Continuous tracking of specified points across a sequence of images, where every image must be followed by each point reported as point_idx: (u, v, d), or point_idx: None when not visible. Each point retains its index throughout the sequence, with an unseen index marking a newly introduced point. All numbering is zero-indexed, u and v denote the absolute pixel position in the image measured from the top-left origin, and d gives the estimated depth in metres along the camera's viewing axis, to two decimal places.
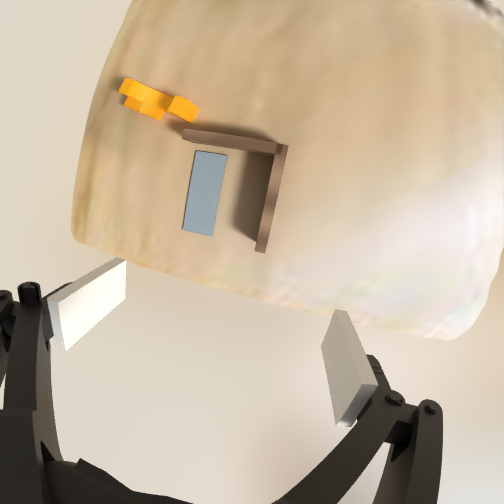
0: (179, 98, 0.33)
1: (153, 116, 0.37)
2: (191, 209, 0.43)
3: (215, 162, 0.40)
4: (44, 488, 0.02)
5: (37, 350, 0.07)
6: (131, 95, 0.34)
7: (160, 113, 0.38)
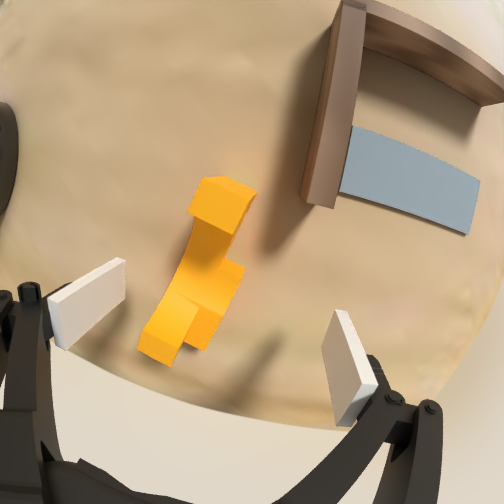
0: (198, 200, 0.13)
1: (237, 281, 0.19)
2: (443, 213, 0.18)
3: (366, 151, 0.17)
4: (44, 488, 0.02)
5: (37, 350, 0.07)
6: (181, 335, 0.17)
7: (229, 266, 0.20)
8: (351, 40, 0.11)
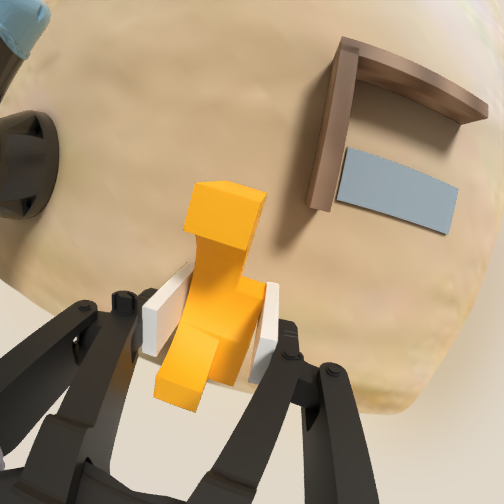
0: (194, 213, 0.10)
1: (259, 302, 0.16)
2: (424, 216, 0.23)
3: (358, 167, 0.23)
4: (44, 488, 0.02)
5: (117, 364, 0.08)
6: (202, 375, 0.14)
7: (248, 285, 0.17)
8: (345, 81, 0.17)
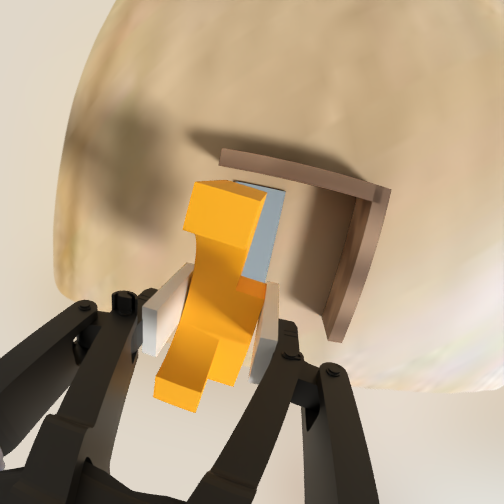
0: (194, 212, 0.10)
1: (259, 302, 0.15)
2: None
3: (266, 201, 0.27)
4: (44, 488, 0.02)
5: (117, 364, 0.08)
6: (202, 376, 0.14)
7: (248, 285, 0.17)
8: (342, 184, 0.21)
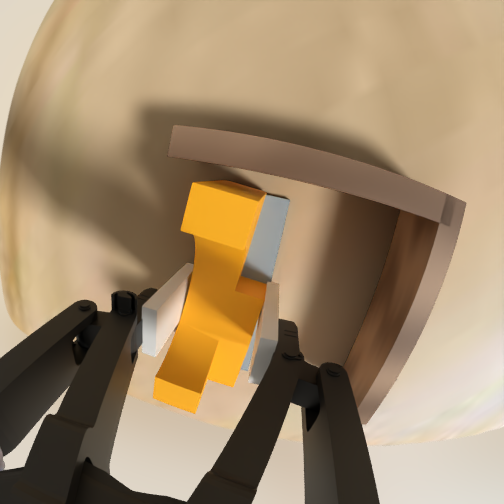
0: (191, 213, 0.10)
1: (259, 302, 0.15)
2: None
3: (259, 216, 0.16)
4: (44, 488, 0.02)
5: (117, 364, 0.08)
6: (202, 376, 0.14)
7: (247, 285, 0.16)
8: (395, 190, 0.11)
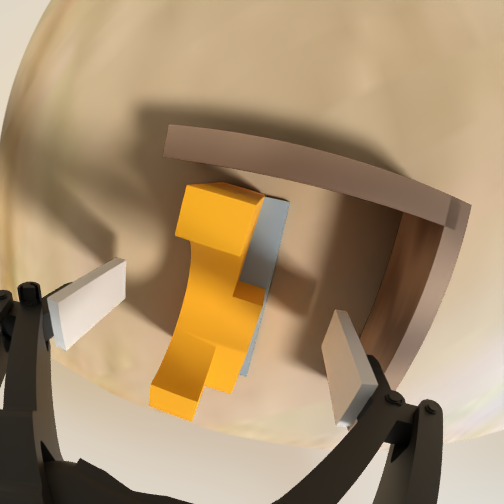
0: (186, 217, 0.10)
1: (257, 308, 0.15)
2: None
3: (258, 219, 0.16)
4: (44, 488, 0.02)
5: (37, 350, 0.07)
6: (199, 384, 0.13)
7: (245, 290, 0.16)
8: (399, 192, 0.10)
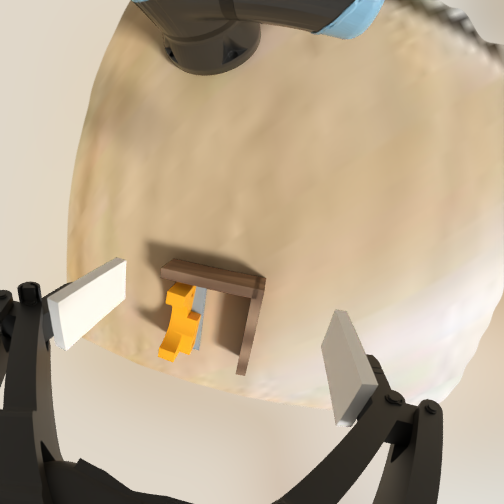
0: (168, 299, 0.36)
1: (195, 322, 0.41)
2: None
3: (196, 289, 0.43)
4: (44, 488, 0.02)
5: (37, 350, 0.07)
6: (175, 348, 0.40)
7: (192, 315, 0.43)
8: (231, 289, 0.37)
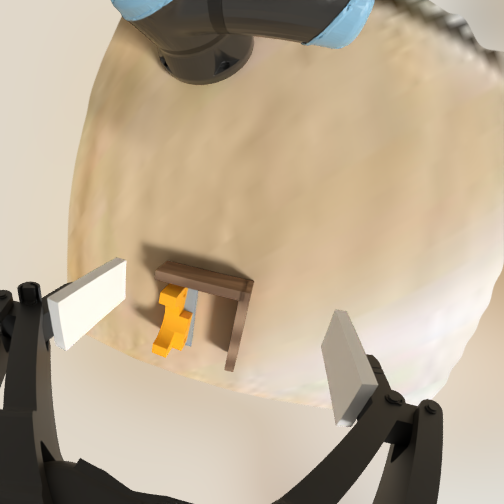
0: (161, 299, 0.39)
1: (187, 320, 0.44)
2: None
3: (188, 289, 0.45)
4: (44, 488, 0.02)
5: (37, 350, 0.07)
6: (168, 344, 0.42)
7: (184, 313, 0.45)
8: (219, 291, 0.39)
